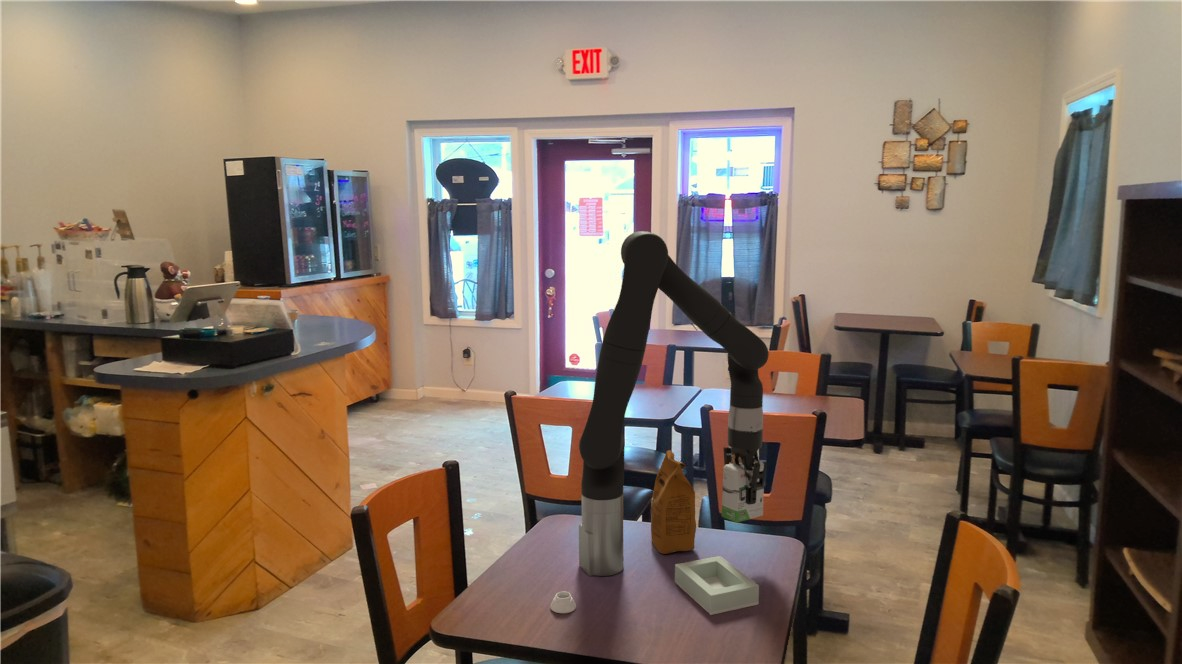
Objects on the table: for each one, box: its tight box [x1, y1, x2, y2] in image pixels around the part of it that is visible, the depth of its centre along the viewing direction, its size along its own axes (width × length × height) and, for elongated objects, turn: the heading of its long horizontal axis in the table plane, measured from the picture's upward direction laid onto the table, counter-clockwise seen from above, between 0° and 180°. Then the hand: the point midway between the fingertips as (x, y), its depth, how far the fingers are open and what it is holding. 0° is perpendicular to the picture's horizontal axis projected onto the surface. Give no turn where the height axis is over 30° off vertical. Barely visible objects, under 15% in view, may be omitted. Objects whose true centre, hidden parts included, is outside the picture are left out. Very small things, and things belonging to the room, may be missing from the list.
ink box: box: [721, 463, 765, 524], centre depth 169 cm, size 9×5×12 cm, turn 123°
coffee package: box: [650, 449, 697, 555], centre depth 180 cm, size 10×12×22 cm
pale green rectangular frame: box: [674, 555, 760, 616], centre depth 157 cm, size 11×15×4 cm
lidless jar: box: [550, 590, 577, 614], centre depth 152 cm, size 5×3×5 cm
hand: (743, 498), depth 169 cm, fingers closed on ink box, 5 cm apart
